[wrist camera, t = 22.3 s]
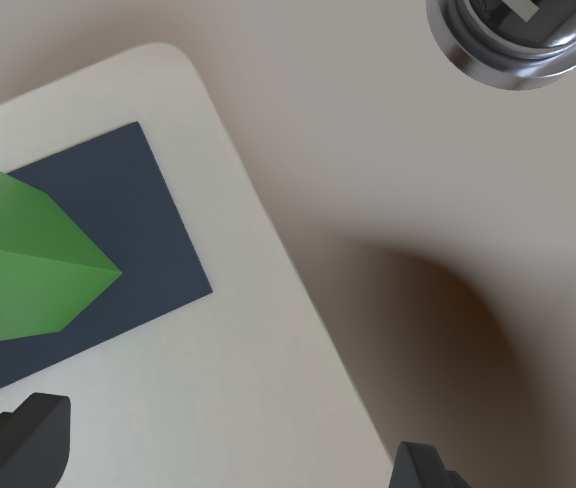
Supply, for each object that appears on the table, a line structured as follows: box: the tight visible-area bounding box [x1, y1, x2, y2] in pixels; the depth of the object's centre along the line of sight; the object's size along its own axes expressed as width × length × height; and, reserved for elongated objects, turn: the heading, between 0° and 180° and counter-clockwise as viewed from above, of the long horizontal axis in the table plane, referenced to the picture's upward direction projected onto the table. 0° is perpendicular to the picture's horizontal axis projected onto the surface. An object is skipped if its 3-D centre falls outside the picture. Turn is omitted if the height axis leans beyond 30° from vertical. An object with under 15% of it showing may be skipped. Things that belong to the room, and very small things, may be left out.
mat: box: [0, 121, 213, 388], centre depth 27 cm, size 16×12×1 cm
